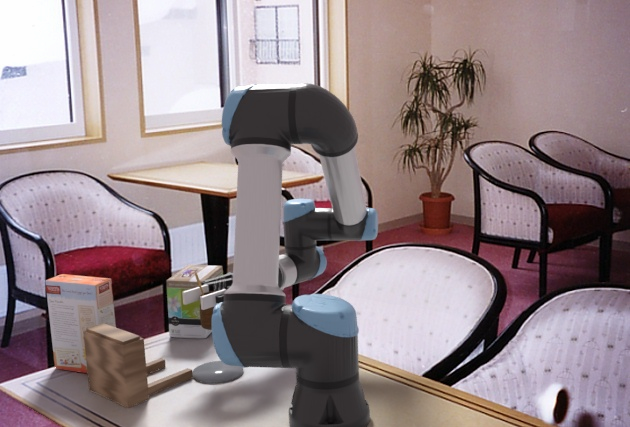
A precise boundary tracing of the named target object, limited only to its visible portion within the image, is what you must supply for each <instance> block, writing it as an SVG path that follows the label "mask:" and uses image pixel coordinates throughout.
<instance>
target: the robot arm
mask: <svg viewBox="0 0 630 427" xmlns="http://www.w3.org/2000/svg"><path fill="white" fill-rule="evenodd" d="M221 128H222V130H221V135H222V138H223V141H224V143H225V144H226V145H228V146H230V152H231V154H232V155H233V157H234V158H235V159H237V162H238V163H237V179H236V180H237V182H236V202H235V204H236V207H235V224H234V228H235V229H234V247H233V266H232V267H233V268H232V271H229V272H227V273H226V274H223V275H222V276H223V277H222V276H220V277H221V278H220V277H217V278H216V277H215V278H212V279H208V280H205V281H202V282H201V287H202V290H203V293H206V292H210V291H214V290H215V291H217V292H214V293H210V294H207V295H204V296H201V295H202V292H201V289H200V287H196V288H193V289H190V290H187V291H184V292H182V295H183V304H184V305H187V304H190V303H193V302H196V301H199V300H200V299H201V309H202V310H205V309H208V308H211V307H214V306H215V307H214V309H213V315H212V332H211V336H212V343H213V346H214V350H215V352H216V355H217V357H218V358H219V361H222V362H223V363H225V364H227V365H231V366H242V367H243V369H244V368H272V369H273V368H274V369H275V368H276V369H279V368H280V369H295V375H296V376H295V379H296V380H295V381H296V383H295V386H294V391H293V395H292V398H291V402H290V405H289V408H288V423H289V424H288V425H290V427H367V426H368V424H369V423H370V419H371V415H370V414H371V413H370V410H371V409H370V404H369V402H368V401H367V399H366V397H365V393H364V390H363V387H362V384H361V381H360V366H359V339H358V338H359V336H358V334H359V330H360V329H359V326H358V317H357V312H356V309H355V307H354V306H353V305H352V303H350V302H349V301H347V300H345V299H343V298H341V297H337V296H334V295H329V294H323V293H310V294H302V295H298V296H297V297H295V298H294V300H293V301H292V304H289V303H287V304H286V294H285V292H283V291H284V289H285V288H287V287H291V286H293V285H296V284H299V283H303V282H306V281H311V280H313V279H314V278H317V277H319V276H320V275H322V274H323V273H324V272H325V271H326V268H327V263H328V262H327V257H326V256H325V251H323V249H321V248H320V247H319V246H317V241H348V242H349V241H354V242H356V241H358V242H362V241H373V240H376V239H377V236H378V233H379V215H378V210H377V209H375V208H372V207H368V206H367V205H366V199H365V195H364V194H365V193H364V188H363V182H362V177H361V172H360V166H359V162H358V155H357V150H356V146H357V145H358V140H359V133H358V128H357V123H356V121H355V118H354V116H353V114H352V113H351V112H350V110H349V109H348V108H347V105H346V104H344V102H342V100H341V99H340V98H338V97H337V95H335V94H334V93H332V91H331V92H330V91H329V90H328V89H326V88H325V87H322V86H320V85H318V84H314V83H308V82H307V83H303V82H302V83H301V82H300V83H281V84H280V83H279V84H278V83H276V84H273V83H272V84H257V83H253V84H250V85H239V86H236V87H234V88H233V89H232V90H231V91H230V92H229V93H228V94H227V97H226V98H225V101H224V104H223V108H222V113H221ZM304 144H306V145H310V146H311V148H312V150H313V151H314V152H315V153H316V155H318V157H319V160H320V164H321V168H322V173H323V177H324V181H325V184H326V189H327V192H328V195H329V196H328V197H329V201H330V205H331V207H327V208H326V207H316V205H315V204H316V203H315V201H314V200H313V199H311V198H294V199H288V200H287V201H285V202H284V204H283V207H282V189H283V188H282V187H283V186H282V185H283V164H284V162H285V161H286V160H287V159H288V158H289V157H291V154H292V145H304ZM281 208H283V209H281ZM282 210H283V212H282ZM282 213H283V214H282ZM281 214H282V215H283V216H282V215H281ZM281 216H282V217H283V219H282V223H283V224H282V225H283V236H284V253H283V254H280V246H281V245H280V239H281ZM224 278H225V279H224ZM223 280H224V284H223ZM220 281H221V283H220ZM225 281H226V283H225ZM216 282H217V283H216ZM214 283H215V284H214ZM219 283H220V284H219ZM215 285H216V286H215ZM223 287H224V288H223ZM219 289H220V291H219Z"/></svg>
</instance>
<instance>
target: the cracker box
mask: <svg viewBox="0 0 630 427" xmlns="http://www.w3.org/2000/svg"><path fill="white" fill-rule="evenodd" d="M112 283H113V282H112V278H110V277H109V278H108V277H97V276H85V275H75V274H65V273H62V274H59V275H56V276H53V277H50V278H48V279H46V280H45V290H46V299H47V307H48V318H49V325H50V334H51V343H52V351H53V352H52V353H53V362H54V368H55V367H56V368H55V370H64V371H70V372H78V373H83V374H88V372H87V363H86V353H85V344H84V334H83V331H86V328H89V327H92V326H95V325H98V324H102V323H104V324H107V325H110V326H113V327H116V328H117V325H116V316H115V305H114V295H113V284H112Z"/></svg>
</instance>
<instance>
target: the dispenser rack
mask: <svg viewBox="0 0 630 427" xmlns="http://www.w3.org/2000/svg"><path fill="white" fill-rule="evenodd" d="M83 334H84V344H85V353H86V363H87V372H88V373H87V380H88V389H89V392H90V391H91V392H92V393H95V394H97V395H99V396H102V397H103V398H106V399H108V400H109V401H112V402H114V403H117V404H118V405H121V406H123V407H126V408H128V409H130V408H132V407H135V406H138V405H139V404H142V403H144V402H147V401H149V400H150V396H152V395H154V394H157V393H159V392H161V391H163V390H166V389H168V388H171V387H173V386H176V385H179V384H181V383H183V382H186V381H188V380H190V379H194V378H193V374H192V372H193V369H192V368H189V367H187V368H185V369H182V370H180V371H178V372H177V371H176V372H174V373H171V374H169V375H167V376H164V377H162V378H159V379H157V380H154V381H152V382H150V383H149V382H148V375H149V374H152V373H155V372H157V371H159V370H162V369H165V368H166V360H165V358H158V359H155V360H152V361H150V362H147V360H146V350H145V348H146V347H145V338H144V337H141V335H138V334H135V333H132V332H130V331H127V330H124V329H122V328H119V327H118V328H117V326H116V327H113V326H110V325H107V324H104V323H102V324H98V325H95V326H92V327H89V328H86V331H83Z"/></svg>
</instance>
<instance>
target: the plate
mask: <svg viewBox="0 0 630 427" xmlns="http://www.w3.org/2000/svg"><path fill="white" fill-rule="evenodd" d="M192 374H193V378H192V379H194V380H195V381H197V382H198V383H199V382H200V383H203V384H222V383H223V384H224V383H228V382H231V381H235V380H237V379H239V378H241V376H242V375H243V374H244V367H242V366H231V365H227V364H225V363H223V362H222V361H221V360H215V361H213V360H212V361H207V362H205V363H202V364H200V365H198V366H195V368H194V369H192Z"/></svg>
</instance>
